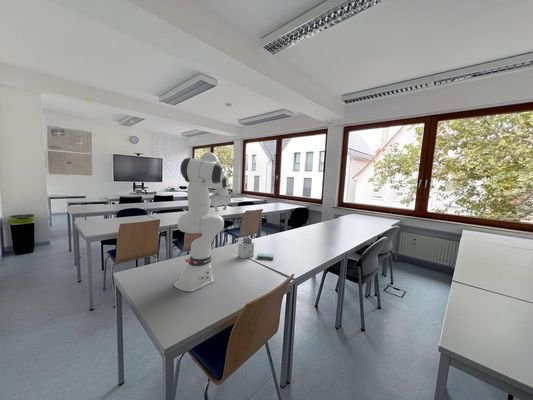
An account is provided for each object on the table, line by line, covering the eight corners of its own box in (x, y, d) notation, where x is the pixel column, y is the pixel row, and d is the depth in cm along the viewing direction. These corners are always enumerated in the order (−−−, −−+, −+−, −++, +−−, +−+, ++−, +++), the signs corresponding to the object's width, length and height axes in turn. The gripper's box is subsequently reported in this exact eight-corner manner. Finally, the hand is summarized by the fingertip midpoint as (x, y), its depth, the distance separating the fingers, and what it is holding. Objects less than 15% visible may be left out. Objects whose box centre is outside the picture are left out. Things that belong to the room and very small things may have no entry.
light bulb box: (248, 253, 178) (249, 240, 177) (253, 256, 173) (254, 242, 172) (237, 256, 171) (238, 242, 170) (242, 258, 166) (242, 245, 165)
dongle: (252, 243, 170) (252, 238, 170) (250, 244, 167) (250, 239, 167) (243, 241, 174) (243, 236, 174) (240, 242, 171) (240, 237, 171)
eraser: (257, 259, 168) (257, 255, 167) (258, 256, 173) (258, 253, 172) (272, 260, 167) (273, 256, 166) (273, 258, 171) (273, 254, 171)
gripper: (215, 193, 152) (215, 213, 154) (232, 192, 170) (232, 209, 172) (208, 192, 155) (208, 212, 156) (225, 191, 173) (225, 208, 175)
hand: (220, 211), depth 164 cm, fingers open, 8 cm apart
